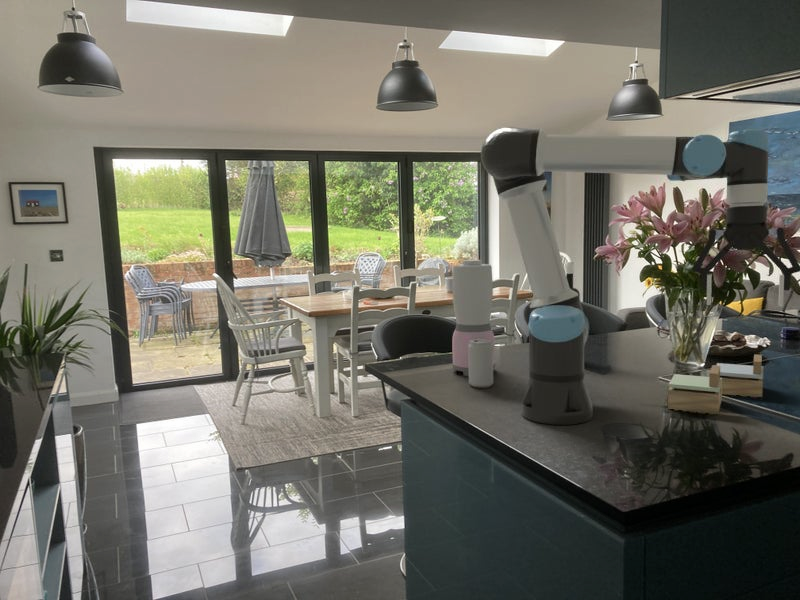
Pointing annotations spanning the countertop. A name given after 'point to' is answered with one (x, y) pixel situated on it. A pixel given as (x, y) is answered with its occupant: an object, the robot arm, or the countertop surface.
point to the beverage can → (480, 363)
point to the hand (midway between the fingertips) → (743, 305)
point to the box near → (694, 400)
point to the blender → (471, 309)
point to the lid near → (698, 381)
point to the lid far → (743, 369)
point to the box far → (742, 386)
